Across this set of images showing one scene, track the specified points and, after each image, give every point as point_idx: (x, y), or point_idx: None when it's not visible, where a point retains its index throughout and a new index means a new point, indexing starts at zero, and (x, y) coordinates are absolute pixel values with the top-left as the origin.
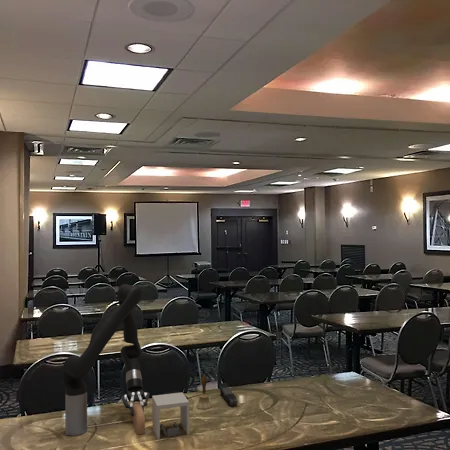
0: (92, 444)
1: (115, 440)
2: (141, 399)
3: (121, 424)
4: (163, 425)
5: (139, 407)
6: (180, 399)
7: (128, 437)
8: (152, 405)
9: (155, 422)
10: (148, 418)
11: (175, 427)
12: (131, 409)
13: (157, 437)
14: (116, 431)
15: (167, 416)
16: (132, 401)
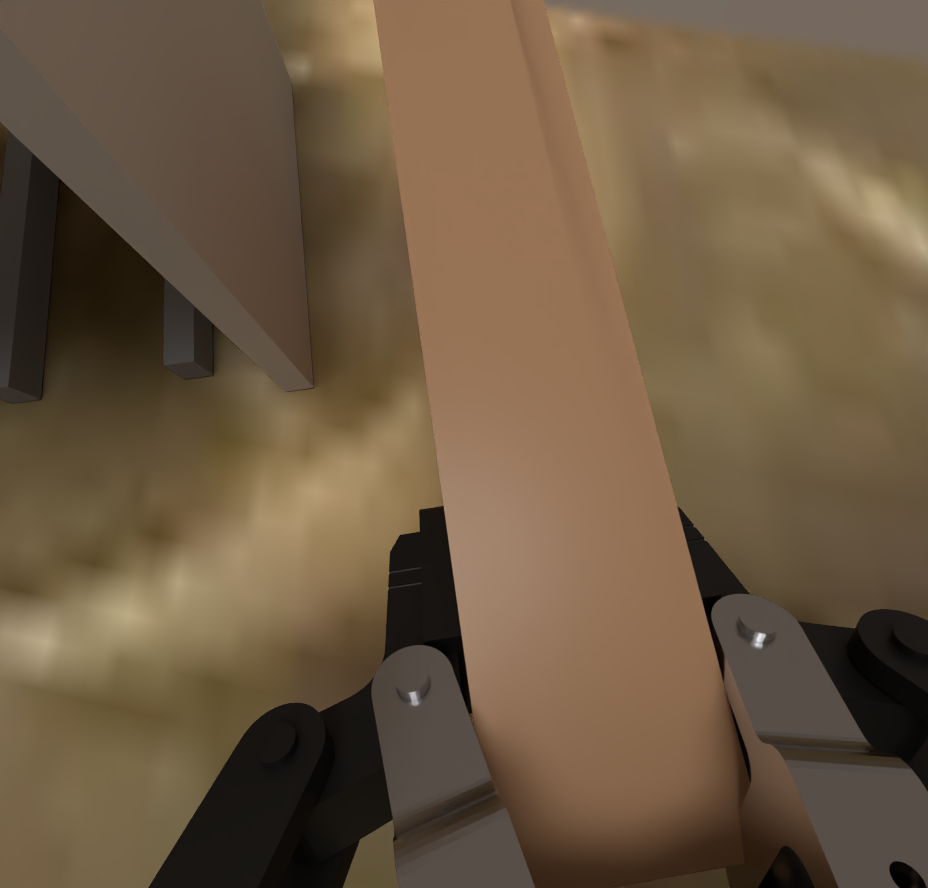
0: (924, 77)
1: (713, 120)
2: (428, 859)
3: (742, 561)
4: (164, 306)
5: (493, 397)
6: None
7: (588, 161)
8: (101, 108)
9: (237, 46)
10: None
11: (39, 282)
12: (694, 569)
13: (287, 75)
14: (757, 335)
15: (34, 770)
16: (808, 747)
